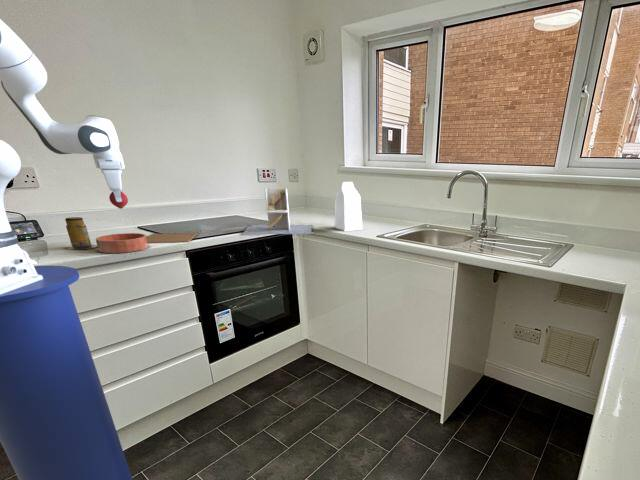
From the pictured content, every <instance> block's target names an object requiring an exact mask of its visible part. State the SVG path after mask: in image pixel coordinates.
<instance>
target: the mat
mask: <svg viewBox="0 0 640 480" xmlns="http://www.w3.org/2000/svg"><path fill="white" fill-rule="evenodd" d="M198 235H199V232H178V233H177V232H176V233H175V232H173V233H172V232H170V233H151V234H150V235H147V236H146V238H147V243H148V244H158V243H159V244H162V243H163V244H165V243H189V242H190V241H191V240H193V239H194V238H195V237H196V236H198Z"/></svg>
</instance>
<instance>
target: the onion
mask: <svg viewBox="0 0 640 480" xmlns="http://www.w3.org/2000/svg"><path fill="white" fill-rule="evenodd" d="M120 193H121V199H122V202H117V201H116V198H115V195H114V193H113V191H111V192H110V194H109V202H110V203H111V204H112V205H113V206H114V207H117V208H118V209H122V210H123V209H124V207H126V206H127V205H128V202H129V197H128V196H127V195H126V194H125V193H124V192H123V191H122V190H120Z"/></svg>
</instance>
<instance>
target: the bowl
mask: <svg viewBox="0 0 640 480" xmlns="http://www.w3.org/2000/svg"><path fill="white" fill-rule="evenodd" d="M146 237H147V234H144V233H139V232H127V233H126V232H125V233H113V234H107V235H105V234H104V235H101V236H98V237H96V238H95V241H96V245H97V246H98V247H97V249H98V251H99V252H100V253H106V254H123V253H131V252H132V253H133V252H137V251H141V250H145V249H147V248H149V243H147V238H146Z"/></svg>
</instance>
